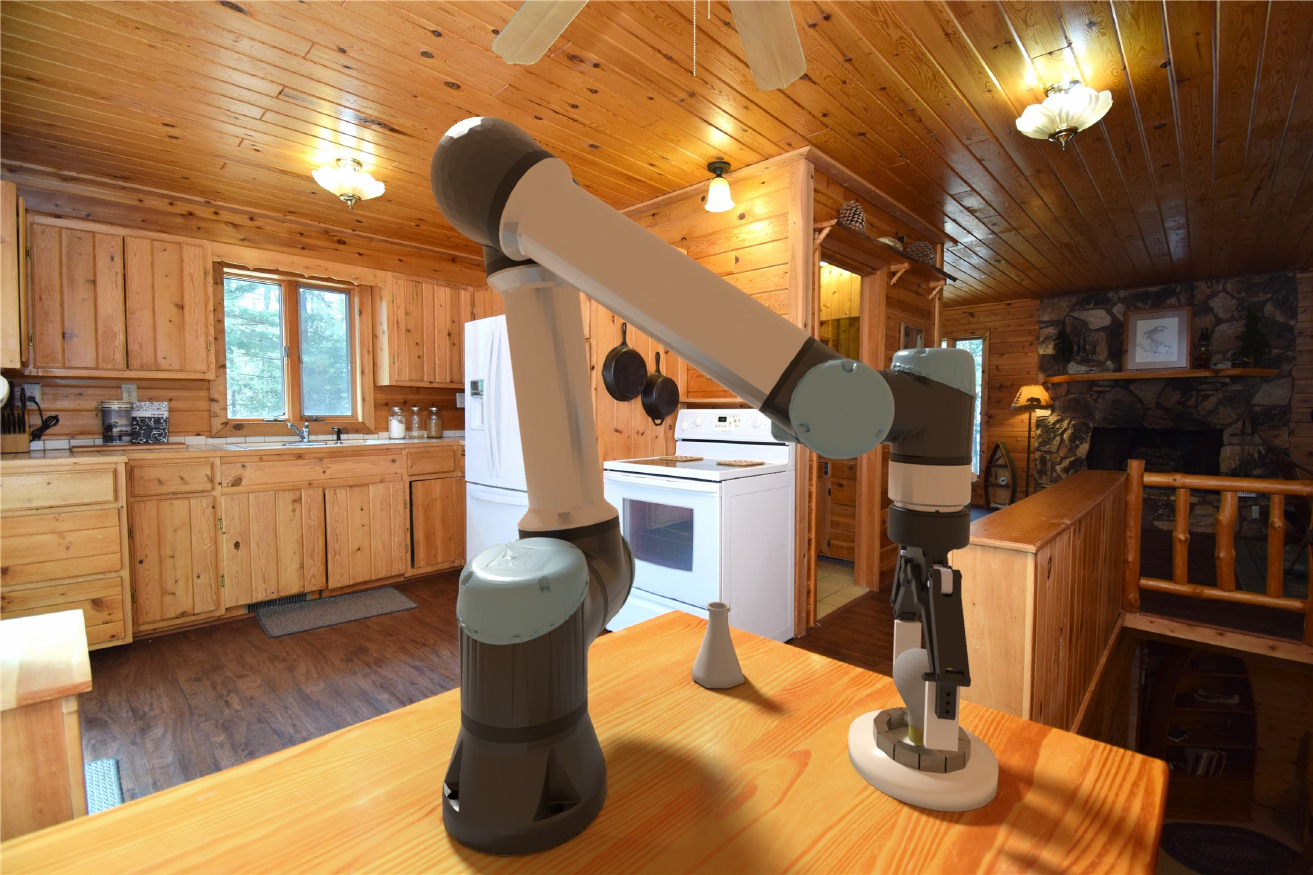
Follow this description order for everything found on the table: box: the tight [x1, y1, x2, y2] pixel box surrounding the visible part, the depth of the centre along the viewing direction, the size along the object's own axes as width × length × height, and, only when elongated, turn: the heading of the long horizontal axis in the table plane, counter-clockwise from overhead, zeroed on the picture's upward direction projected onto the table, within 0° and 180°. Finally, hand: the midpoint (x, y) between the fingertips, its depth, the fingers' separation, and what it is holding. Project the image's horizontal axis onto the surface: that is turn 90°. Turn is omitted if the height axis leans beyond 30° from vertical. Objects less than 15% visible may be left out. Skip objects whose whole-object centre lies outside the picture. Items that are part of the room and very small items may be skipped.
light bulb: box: [892, 648, 949, 746], centre depth 60 cm, size 6×6×10 cm
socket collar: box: [873, 706, 971, 774], centre depth 60 cm, size 9×9×2 cm
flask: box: [691, 601, 746, 689], centre depth 79 cm, size 7×7×10 cm
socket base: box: [847, 709, 999, 813], centre depth 60 cm, size 14×14×2 cm
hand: (921, 708), depth 60 cm, fingers open, 13 cm apart
